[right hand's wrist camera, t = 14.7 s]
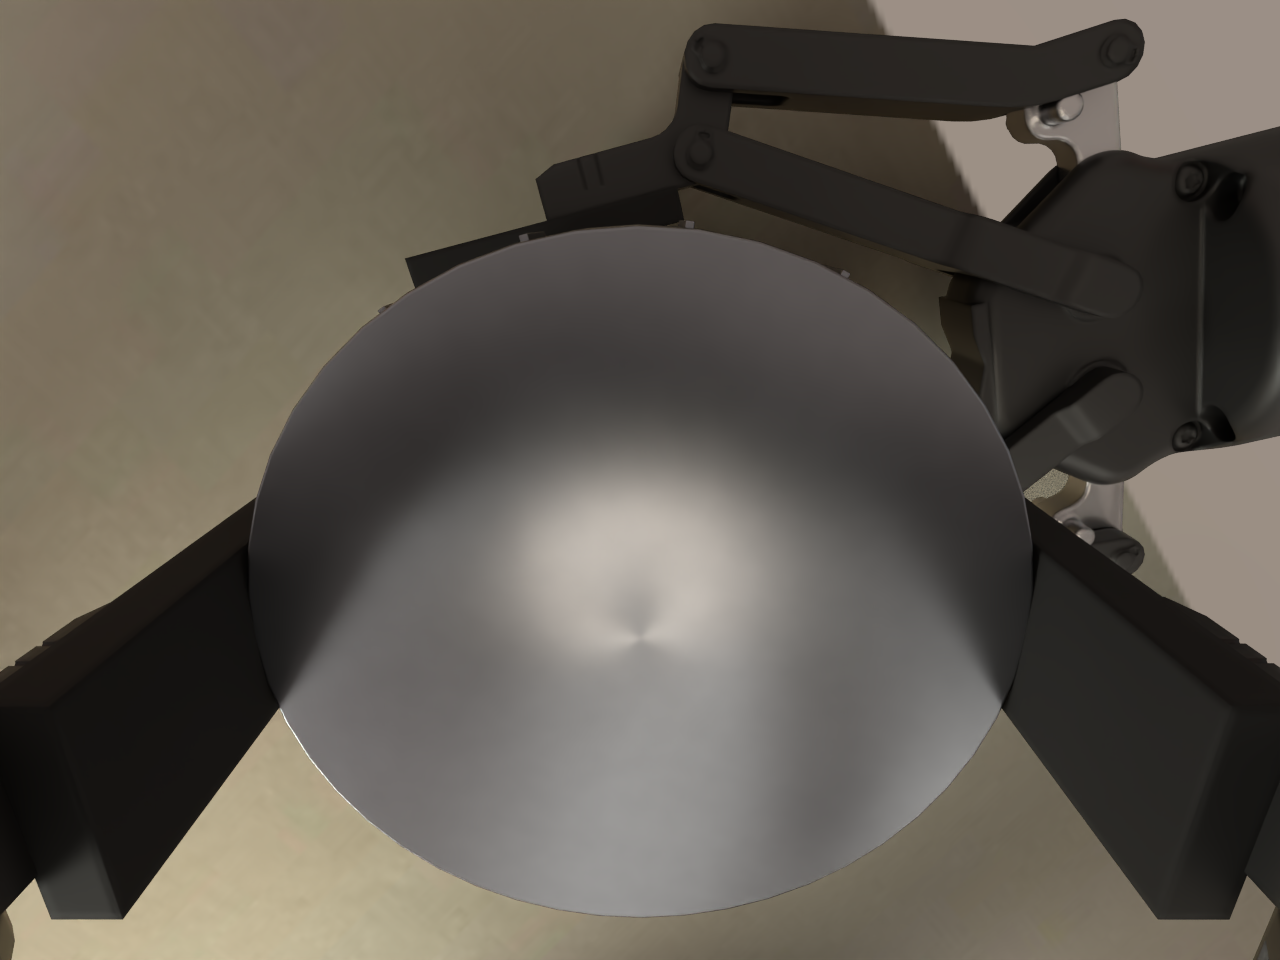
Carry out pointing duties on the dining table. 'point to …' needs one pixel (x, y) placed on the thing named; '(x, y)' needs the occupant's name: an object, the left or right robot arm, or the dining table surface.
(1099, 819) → the right robot arm
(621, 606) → the lid
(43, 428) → the dining table surface
